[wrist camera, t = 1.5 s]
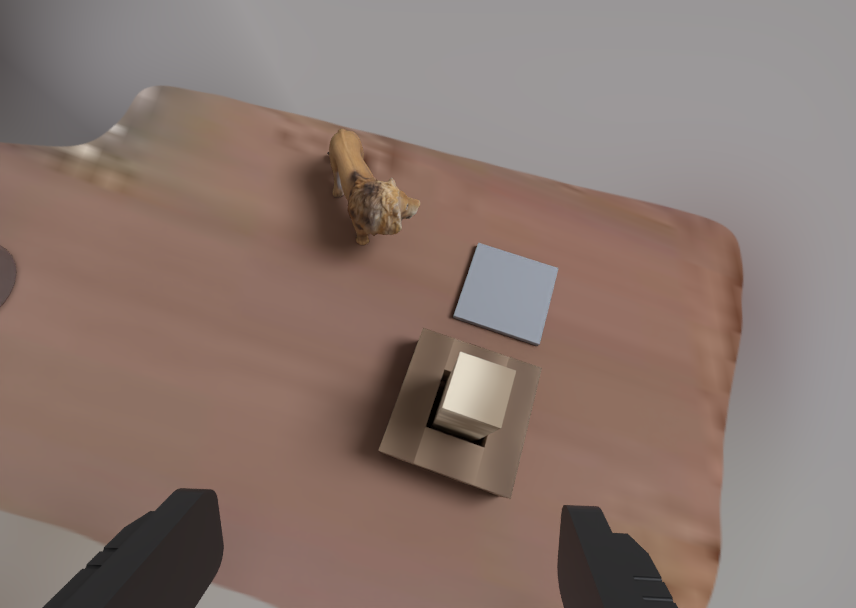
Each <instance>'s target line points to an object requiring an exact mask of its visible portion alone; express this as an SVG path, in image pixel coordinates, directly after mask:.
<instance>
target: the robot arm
mask: <svg viewBox="0 0 856 608" xmlns="http://www.w3.org/2000/svg"><path fill="white" fill-rule="evenodd" d="M15 278H16V264H15V262H14V259H13V257H12V255H11V254H10V253H9V252H8V251H7V250H6V249H5V248H3V247H2V246H0V306H1V305H2V304H3V303H4V302H5V300H6V299H7V297H8V296H9V294H10V293H11V290H12V288H13V286H14V283H15ZM223 549H224V545H223V536H222V529H221V521H220V514H219V506H218V499H217V495H216V493H215V491H214V490H211V489H186V488H180V489H177V490H176V491H174V492H173V493H172V494H171V495H170V496H169V497H168V498H167V499H166V500H165V501H164V502H163V503H162V504H161V505H160V506H159V507H158V509H157V510H156V511H150V512H148V513H147V514H145V515H143V516H142V517H140V518H139V519H137V520H136V521H134V522H132V523H131V524H129V525H128V526H126V527H124V528H123V529H122V530H121V531H120V532H119V533H118V534H117V535H116V536H115V537H114V538H113V539H112V540H111V541H110V542H109V543H108V544H107V545H106V546H105V547H104V550H103V552H99V553H98V554H97V555H96V556H95V557H94V558H93V559H92V560H91V561H90V562H89V563H88V564H87V566H86V568H85V569H82V570H80V572H79V573H77V574H76V575H75V576H74V577H73V578H72V579H71V580H70V581H69V582H68V583H67V584H66V585H65V586H64V587H63V588H62V589H61V590H60V591H59V592H58V593H57V594H56V595H55V596H54V597H53V598H52V599H51V600H50V601H49V602H48V603H47V604H46V605H45V606H44V607H43V608H195V607H196V605H197V604H198V602H199V600H200V599H201V597H202V596H203V594H204V593H205V591H206V590H207V588H208V587H209V585H210V583H211V582H212V580H213V579H214V577H215V576H216V574H217V572H218V569H219V567H220V564H221V561H222V556H223ZM557 568H558V582H559V589H560V594H561V598H562V602H563V606H564V608H678V607H677V605H676V603H673V599H672V596H671V594H670V592H669V590H668V589H667V587H666V585H665V583H664V582H662V580H661V576H660V574H659V572H658V570H657V569H656V567H655V565H654V563H653V561H652V559H651V558H650V556H649V554H648V553H647V552H646V551H645V550H644V549H643V548H642V547H641V546H640V545H639V544H638V543H637V542H636V541H635V540H634V539H633V538H632V537H630V536H629V535H628V534H623V533H612V531H611V529H610V527H609V525H608V523H607V520H606V518H605V516H604V514H603V512H602V510H601V509H600V508H599V507H597V506H574V505H564V506H563V508H562V513H561V525H560V538H559V550H558V567H557Z"/></svg>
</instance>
